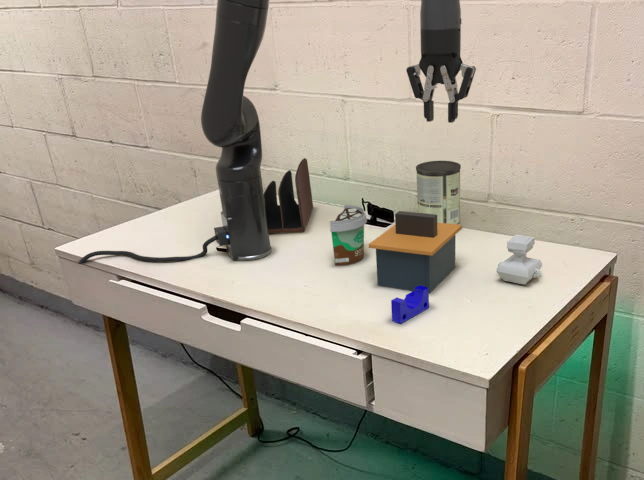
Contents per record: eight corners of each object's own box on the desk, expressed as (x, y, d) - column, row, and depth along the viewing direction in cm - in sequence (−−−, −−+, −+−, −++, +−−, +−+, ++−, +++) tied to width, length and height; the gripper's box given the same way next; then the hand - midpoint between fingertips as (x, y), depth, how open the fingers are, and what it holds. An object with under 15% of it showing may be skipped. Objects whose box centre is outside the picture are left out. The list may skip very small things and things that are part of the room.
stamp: (490, 282, 135) (491, 240, 131) (504, 270, 140) (506, 230, 136) (533, 290, 131) (536, 248, 127) (547, 278, 135) (550, 237, 131)
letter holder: (313, 208, 183) (308, 153, 177) (304, 232, 166) (298, 173, 159) (275, 209, 184) (269, 155, 177) (263, 234, 166) (255, 175, 160)
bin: (429, 293, 132) (429, 253, 128) (377, 285, 136) (375, 246, 132) (455, 267, 143) (455, 229, 139) (406, 261, 147) (405, 224, 143)
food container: (362, 269, 144) (359, 222, 139) (333, 268, 145) (329, 222, 140) (374, 248, 154) (372, 204, 150) (347, 247, 156) (344, 203, 151)
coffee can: (423, 217, 173) (423, 159, 166) (464, 219, 169) (465, 161, 163) (411, 230, 164) (410, 170, 157) (454, 233, 161) (454, 172, 154)
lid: (432, 255, 127) (431, 230, 124) (368, 248, 132) (367, 223, 129) (462, 228, 139) (462, 205, 137) (402, 222, 144) (402, 199, 142)
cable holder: (413, 303, 128) (413, 283, 126) (428, 308, 126) (428, 287, 124) (385, 318, 123) (384, 298, 121) (400, 324, 121) (400, 303, 119)
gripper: (397, 28, 129) (400, 123, 138) (470, 27, 124) (468, 126, 132) (413, 24, 135) (415, 116, 144) (483, 23, 130) (481, 119, 138)
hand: (440, 121), depth 138 cm, fingers open, 4 cm apart
